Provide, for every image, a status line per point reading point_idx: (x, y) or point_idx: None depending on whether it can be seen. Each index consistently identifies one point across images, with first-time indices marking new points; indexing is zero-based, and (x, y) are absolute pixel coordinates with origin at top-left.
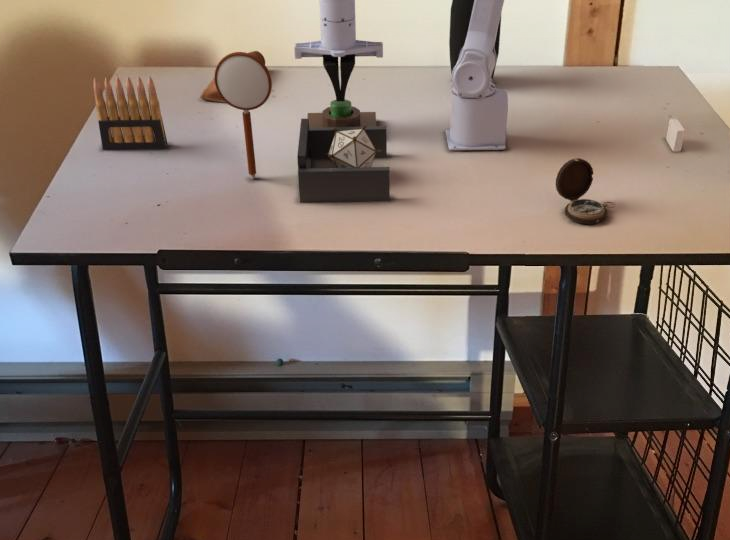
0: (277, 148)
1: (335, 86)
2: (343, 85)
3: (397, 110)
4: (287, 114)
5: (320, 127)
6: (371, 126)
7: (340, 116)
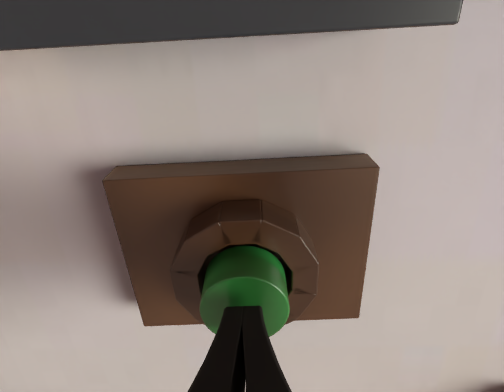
0: (481, 107)
1: (266, 366)
2: (217, 373)
3: (106, 357)
4: (406, 336)
5: (345, 26)
6: (133, 229)
7: (245, 250)
